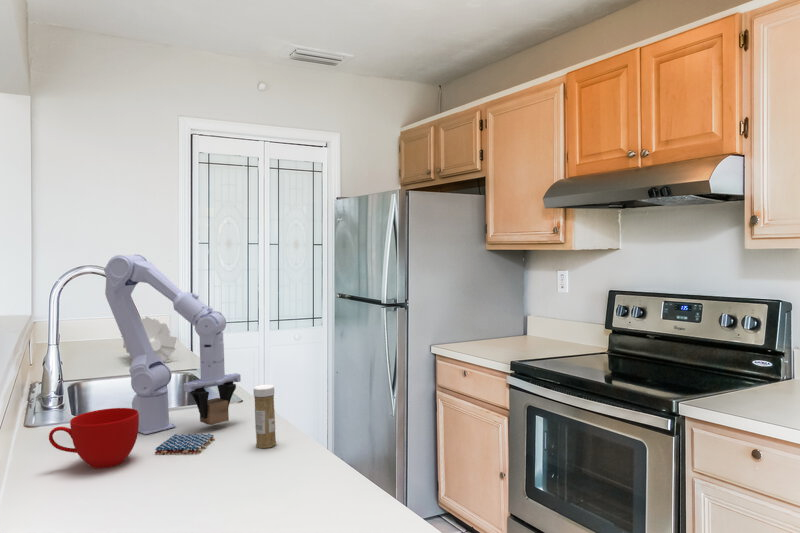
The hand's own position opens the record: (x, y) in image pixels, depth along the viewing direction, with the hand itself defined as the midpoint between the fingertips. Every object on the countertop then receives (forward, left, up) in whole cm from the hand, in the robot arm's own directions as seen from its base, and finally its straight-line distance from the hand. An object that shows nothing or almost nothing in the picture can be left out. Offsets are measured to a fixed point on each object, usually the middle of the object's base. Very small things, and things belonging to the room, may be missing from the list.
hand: (214, 415), depth 150 cm
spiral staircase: (-107, +32, -3) cm, 112 cm away
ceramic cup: (+4, -29, -3) cm, 30 cm away
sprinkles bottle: (+22, 0, -3) cm, 22 cm away
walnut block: (0, 0, -2) cm, 2 cm away
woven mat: (+8, -12, -4) cm, 15 cm away
